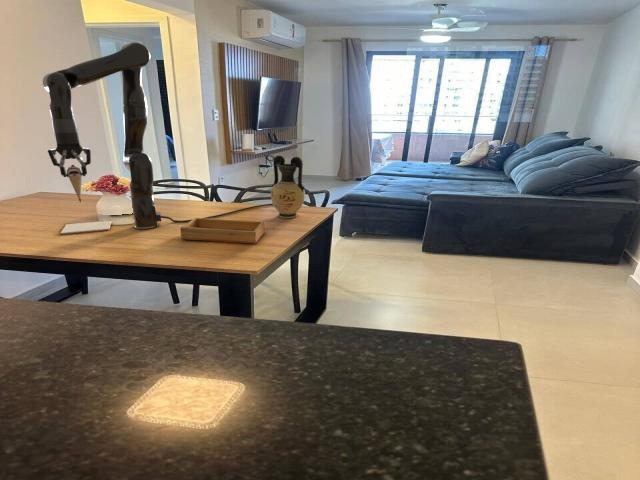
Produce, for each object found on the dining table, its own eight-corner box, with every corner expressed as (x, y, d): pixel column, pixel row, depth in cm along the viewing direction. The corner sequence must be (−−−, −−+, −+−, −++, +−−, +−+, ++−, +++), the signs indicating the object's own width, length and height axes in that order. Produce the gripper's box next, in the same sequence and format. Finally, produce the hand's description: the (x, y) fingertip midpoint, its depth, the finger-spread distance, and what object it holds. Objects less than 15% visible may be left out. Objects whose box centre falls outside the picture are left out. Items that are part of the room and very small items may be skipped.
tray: (264, 233, 166) (264, 220, 164) (255, 244, 152) (255, 231, 150) (196, 230, 168) (195, 217, 166) (181, 241, 154) (180, 227, 152)
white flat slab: (111, 220, 179) (111, 219, 179) (108, 230, 165) (108, 229, 165) (66, 224, 172) (66, 223, 172) (60, 234, 158) (59, 233, 158)
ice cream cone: (76, 205, 147) (68, 166, 142) (68, 203, 150) (60, 164, 145) (91, 202, 152) (84, 164, 147) (83, 200, 154) (76, 163, 149)
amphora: (308, 212, 200) (308, 154, 190) (301, 221, 184) (301, 158, 175) (275, 210, 203) (274, 153, 193) (266, 219, 187) (264, 157, 177)
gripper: (40, 132, 136) (50, 179, 141) (86, 131, 141) (95, 176, 147) (45, 130, 142) (54, 175, 148) (89, 130, 148) (97, 173, 153)
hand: (74, 176), depth 147 cm, fingers closed on ice cream cone, 5 cm apart
